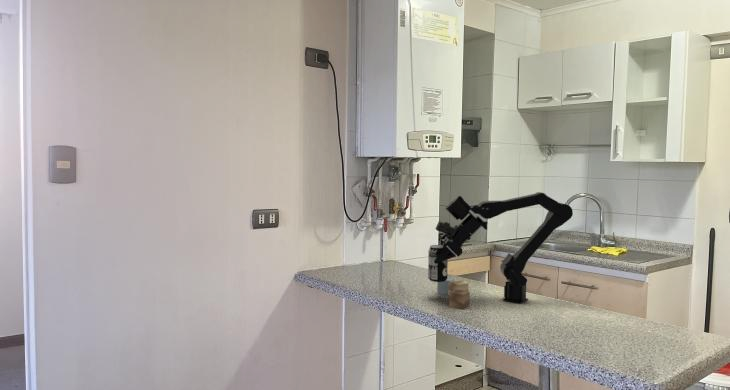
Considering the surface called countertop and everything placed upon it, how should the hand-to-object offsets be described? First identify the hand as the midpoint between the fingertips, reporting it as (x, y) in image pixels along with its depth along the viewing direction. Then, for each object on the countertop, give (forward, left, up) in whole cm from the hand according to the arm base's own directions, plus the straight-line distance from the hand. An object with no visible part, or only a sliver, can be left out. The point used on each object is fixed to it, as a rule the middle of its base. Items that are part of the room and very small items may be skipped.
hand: (433, 261), depth 182 cm
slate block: (+2, -11, -13) cm, 17 cm away
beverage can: (-1, -1, -7) cm, 7 cm away
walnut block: (-12, +2, -13) cm, 18 cm away
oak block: (-4, -10, -13) cm, 17 cm away
